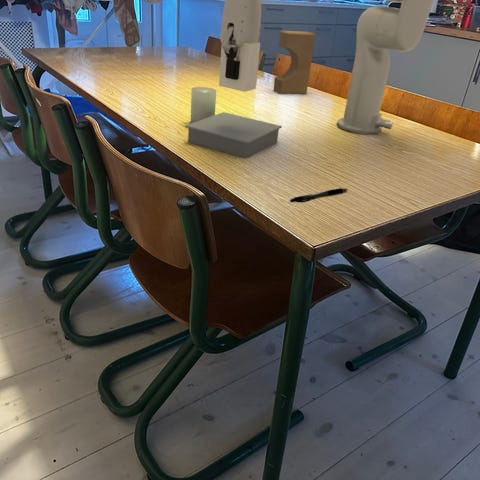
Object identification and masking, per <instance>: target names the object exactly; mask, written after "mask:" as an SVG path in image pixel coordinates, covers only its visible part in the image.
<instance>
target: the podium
mask: <svg viewBox="0 0 480 480" xmlns="http://www.w3.org/2000/svg"><path fill="white" fill-rule="evenodd" d="M282 126H283V125H279V124H274V123H271V122H267V121H264V120H258V119H253V118H250V117H246V116H242V115H238V114H232V113H230V112H225V111H224V112H220V113H217V114H215V115H214V116H211V117H208V118H205V119H203V120H200V121H197V122H194V123H191V124H190V123H188V124H186V125H185V128H186V129H187V128H188V130H187V132H188V135H187V136H188V137H187V142H188V143H190V144H194V145H198V146H202V147H205V148H209V149H212V150H216V151H219V152H224V153H226V154H230V155H234V156H237V157H240V158H244V159H245V158H246V159H247V158H249V157H252V155H254V154H257V153H258V152H260V151H262V150H264V149H266V148H268V147H270V146H272V145H273V144H275V143H277V142H278V137H279V130H280V129H282Z"/></svg>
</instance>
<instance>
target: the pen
mask: <svg viewBox="0 0 480 480" xmlns="http://www.w3.org/2000/svg"><path fill="white" fill-rule="evenodd" d="M347 191H348V188H335V189H329V190H326V191H323V192H316V193H311V194H305V195H299V196H295V197H293V198H290V200H289V202H291V203H293V202H297V203H306V202H310V201H312V200H315V199H317V198H322V197H328V196H330V197H331V196H334V195H338V194H339V195H340V194H343V193H346V192H347Z"/></svg>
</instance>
